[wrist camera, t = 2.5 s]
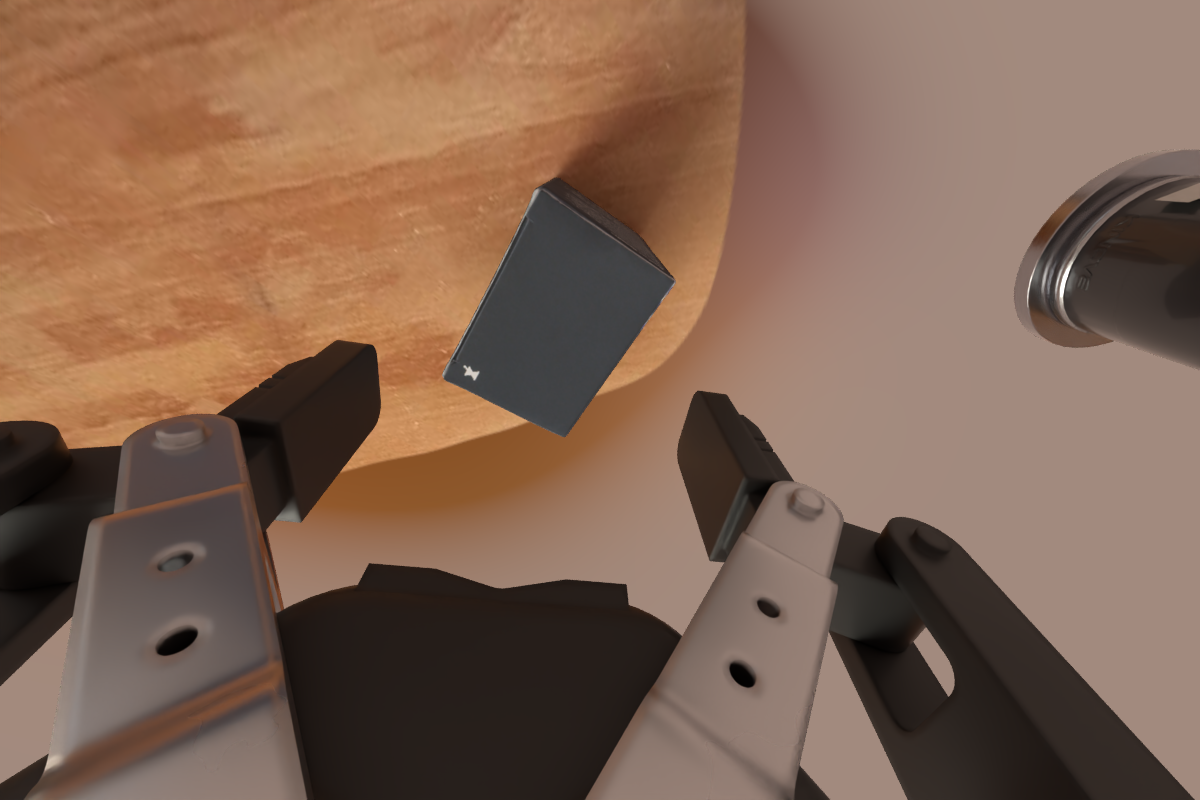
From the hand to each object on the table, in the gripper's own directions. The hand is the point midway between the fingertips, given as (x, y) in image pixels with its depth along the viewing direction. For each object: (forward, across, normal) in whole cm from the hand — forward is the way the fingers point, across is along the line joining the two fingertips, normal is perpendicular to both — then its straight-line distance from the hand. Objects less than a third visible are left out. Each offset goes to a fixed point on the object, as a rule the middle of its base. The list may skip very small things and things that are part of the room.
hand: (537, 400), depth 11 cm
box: (+16, 0, 0) cm, 16 cm away
